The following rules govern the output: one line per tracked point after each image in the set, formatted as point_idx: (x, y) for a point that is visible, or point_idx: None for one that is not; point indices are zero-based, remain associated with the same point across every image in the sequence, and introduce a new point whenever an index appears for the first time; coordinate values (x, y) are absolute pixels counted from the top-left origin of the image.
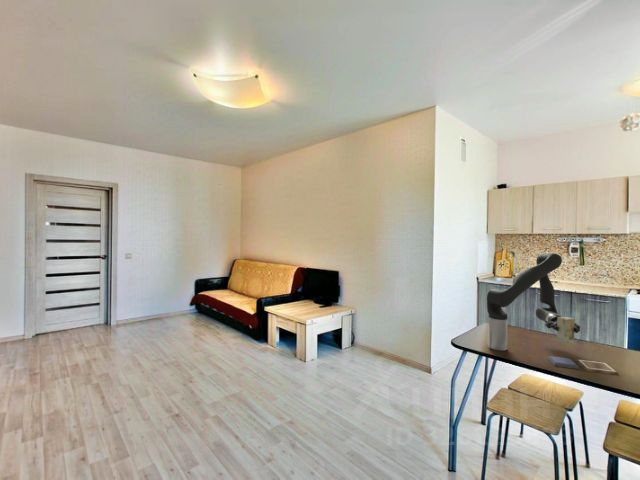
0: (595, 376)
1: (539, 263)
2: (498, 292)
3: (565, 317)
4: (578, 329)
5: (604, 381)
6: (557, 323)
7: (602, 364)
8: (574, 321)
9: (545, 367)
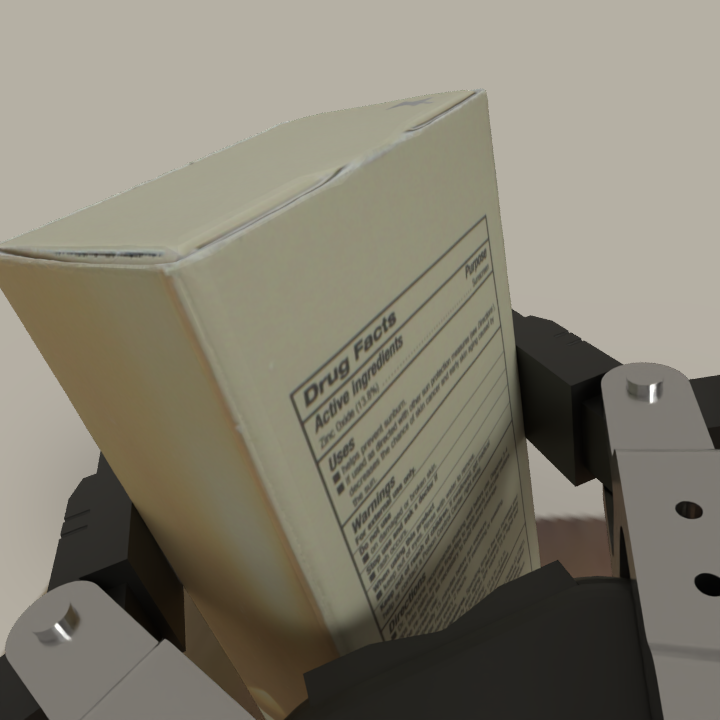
0: (215, 647)
1: None
2: None
3: (260, 160)
4: (87, 477)
5: (183, 587)
6: (500, 281)
7: None
8: (41, 338)
9: (573, 545)
